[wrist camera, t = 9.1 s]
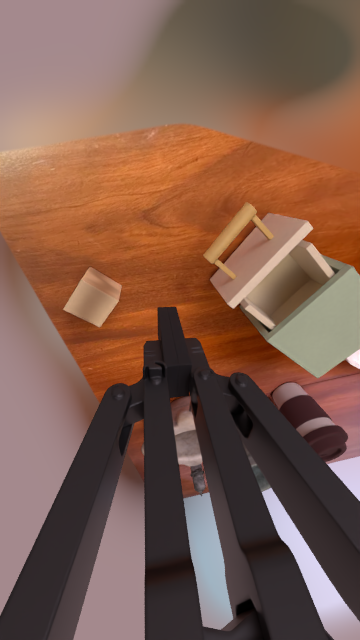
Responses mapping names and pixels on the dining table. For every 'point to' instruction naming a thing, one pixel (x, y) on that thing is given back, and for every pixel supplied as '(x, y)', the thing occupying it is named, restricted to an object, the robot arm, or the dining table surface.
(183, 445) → the mortar
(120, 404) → the robot arm
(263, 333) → the cabinet
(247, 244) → the drawer
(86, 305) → the block
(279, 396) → the coffee cup
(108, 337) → the dining table surface
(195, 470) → the grey stone chess piece
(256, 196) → the dining table surface
